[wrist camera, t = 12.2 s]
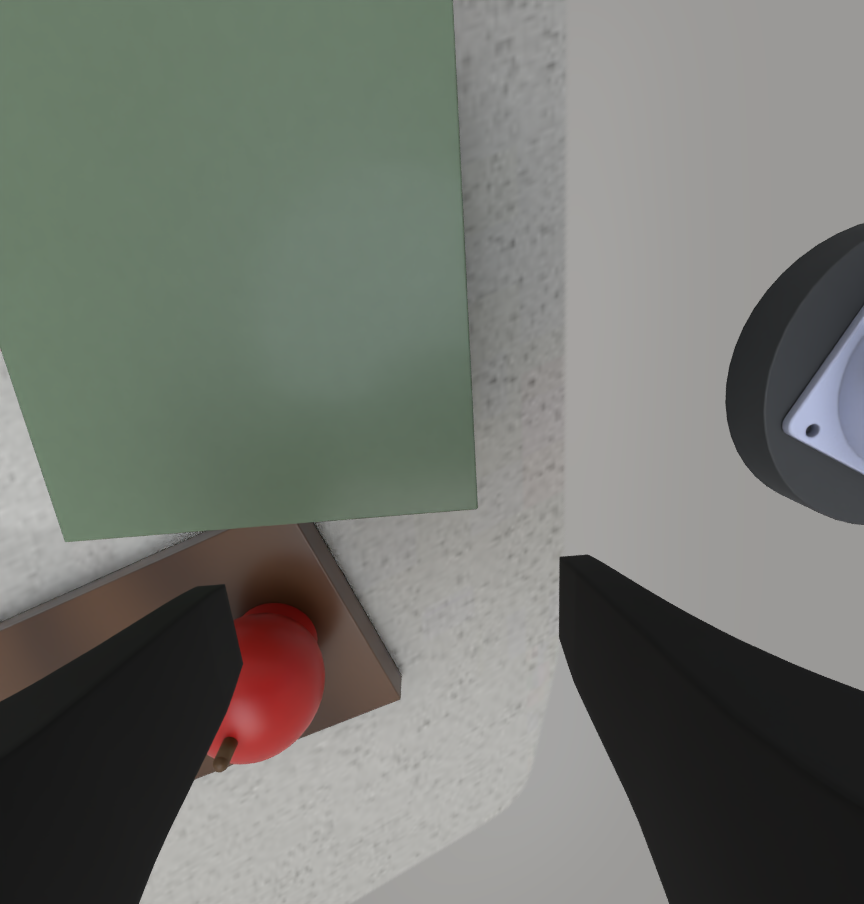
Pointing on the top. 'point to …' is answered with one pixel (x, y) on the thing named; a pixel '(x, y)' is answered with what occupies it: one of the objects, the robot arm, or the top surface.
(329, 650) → the board
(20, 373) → the cabinet
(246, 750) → the apple
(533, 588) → the top surface
